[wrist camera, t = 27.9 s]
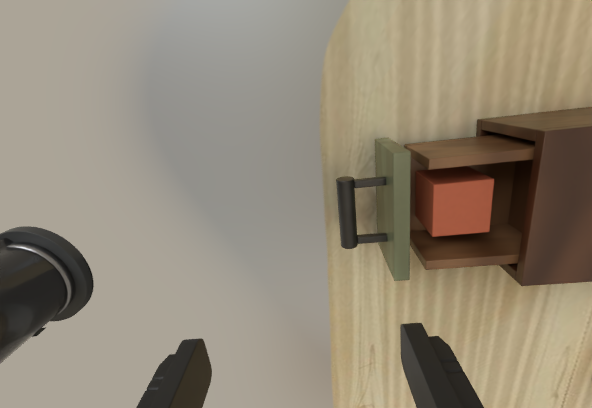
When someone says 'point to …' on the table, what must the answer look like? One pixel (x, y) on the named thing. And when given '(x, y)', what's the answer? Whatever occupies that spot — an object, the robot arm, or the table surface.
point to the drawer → (402, 202)
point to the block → (454, 200)
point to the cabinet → (553, 195)
